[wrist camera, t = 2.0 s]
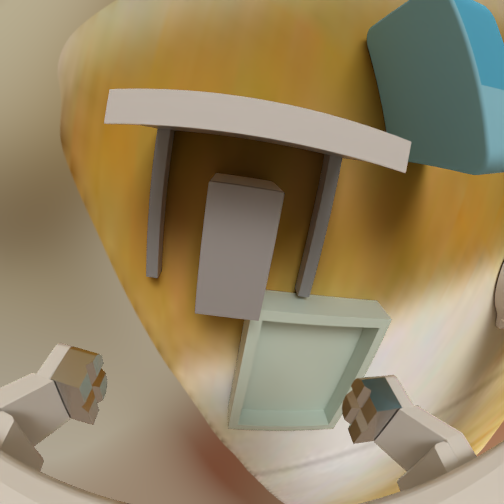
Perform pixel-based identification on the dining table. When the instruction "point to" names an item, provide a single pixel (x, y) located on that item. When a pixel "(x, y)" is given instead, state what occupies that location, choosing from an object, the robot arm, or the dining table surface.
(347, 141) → the bay
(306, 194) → the dining table surface
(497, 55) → the data package
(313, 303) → the tray
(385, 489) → the dining table surface
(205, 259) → the tall grey rectangular block
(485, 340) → the dining table surface
